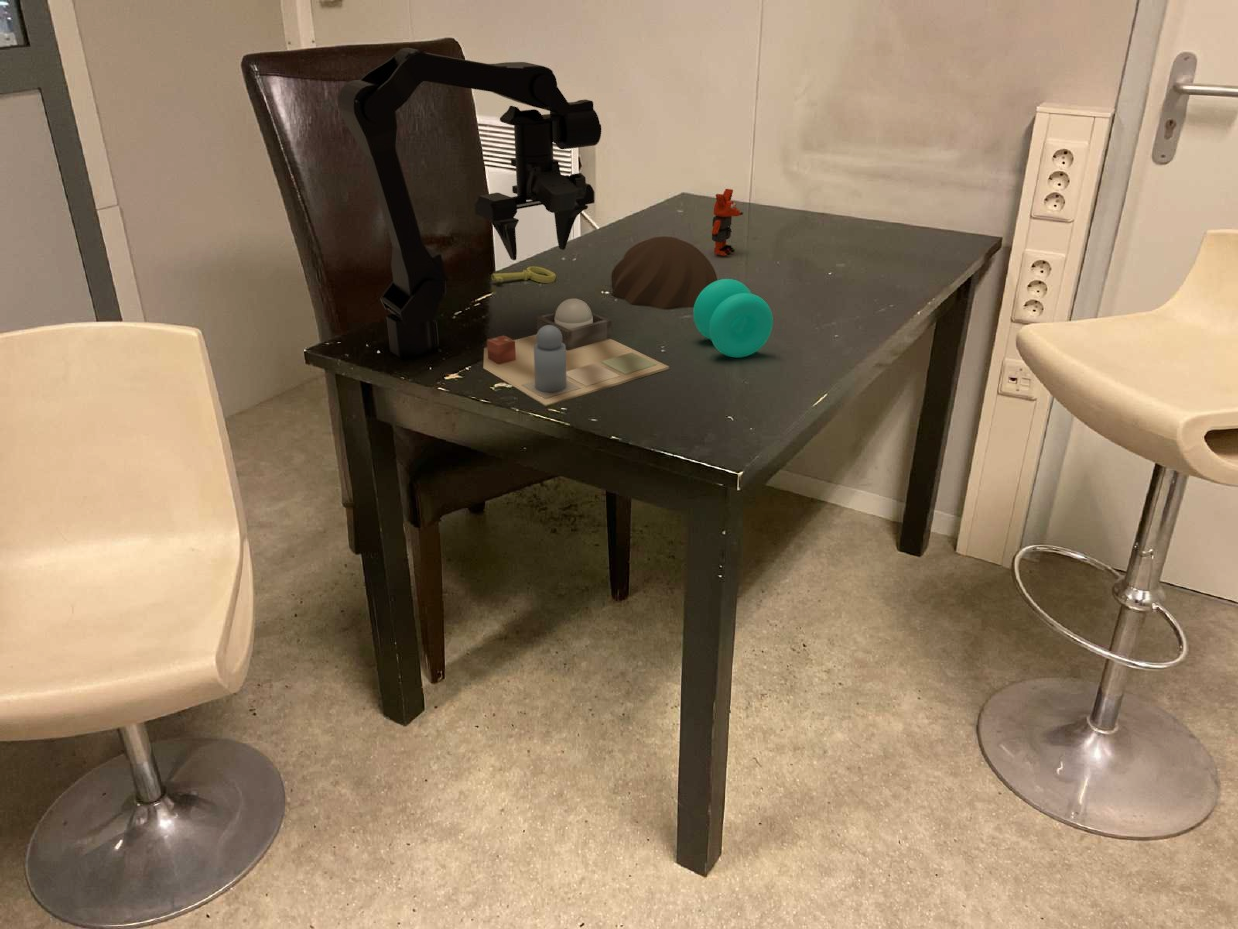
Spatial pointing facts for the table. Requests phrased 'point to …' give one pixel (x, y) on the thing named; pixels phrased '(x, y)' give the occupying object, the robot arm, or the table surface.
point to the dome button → (573, 314)
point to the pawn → (550, 360)
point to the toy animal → (723, 222)
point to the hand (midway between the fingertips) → (538, 254)
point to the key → (527, 275)
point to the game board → (570, 360)
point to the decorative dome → (662, 274)
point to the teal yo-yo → (732, 318)
